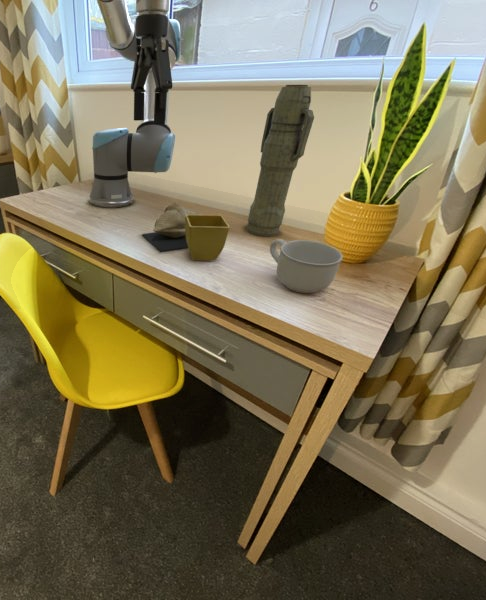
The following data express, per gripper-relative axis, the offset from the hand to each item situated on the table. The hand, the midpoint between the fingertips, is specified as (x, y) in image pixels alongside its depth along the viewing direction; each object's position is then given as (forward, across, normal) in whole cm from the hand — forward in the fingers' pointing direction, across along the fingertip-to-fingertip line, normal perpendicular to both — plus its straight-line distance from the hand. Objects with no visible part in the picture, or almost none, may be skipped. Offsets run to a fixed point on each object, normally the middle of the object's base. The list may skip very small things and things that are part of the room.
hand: (148, 122), depth 86 cm
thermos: (+27, +18, +29) cm, 43 cm away
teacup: (+27, +45, +15) cm, 55 cm away
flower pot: (+27, +28, +3) cm, 39 cm away
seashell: (+26, +14, +3) cm, 30 cm away
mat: (+27, +16, +3) cm, 31 cm away
